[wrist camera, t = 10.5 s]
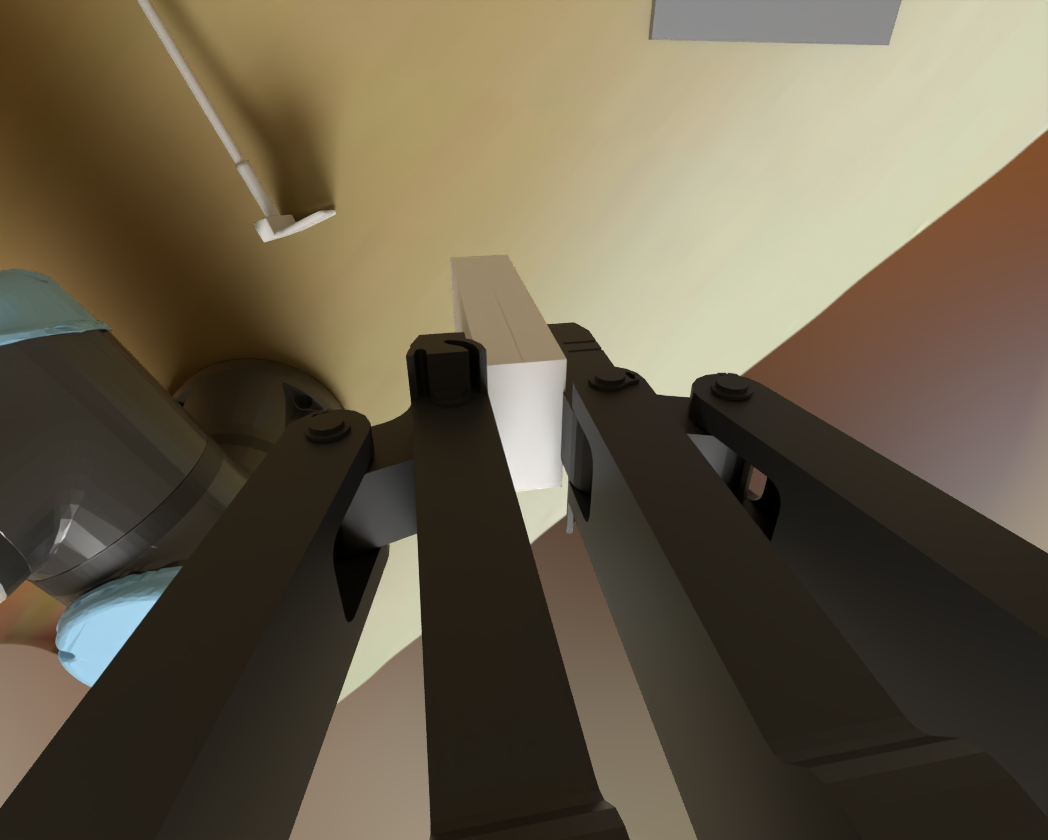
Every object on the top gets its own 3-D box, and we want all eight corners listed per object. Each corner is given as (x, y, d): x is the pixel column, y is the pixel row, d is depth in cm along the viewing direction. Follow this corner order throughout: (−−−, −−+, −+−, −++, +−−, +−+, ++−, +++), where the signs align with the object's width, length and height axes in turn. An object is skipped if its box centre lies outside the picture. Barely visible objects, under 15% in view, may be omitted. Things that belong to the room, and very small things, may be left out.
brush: (79, -252, 34) (-32, -410, 25) (337, 213, 44) (322, 215, 36) (19, -223, 34) (-114, -371, 25) (291, 236, 44) (264, 244, 36)
